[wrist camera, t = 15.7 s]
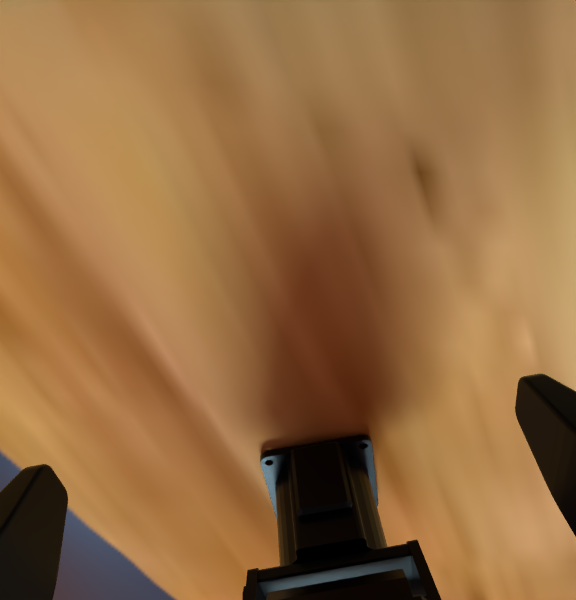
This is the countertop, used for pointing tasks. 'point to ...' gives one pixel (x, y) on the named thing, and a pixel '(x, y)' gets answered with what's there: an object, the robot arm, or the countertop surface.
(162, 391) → the countertop surface
